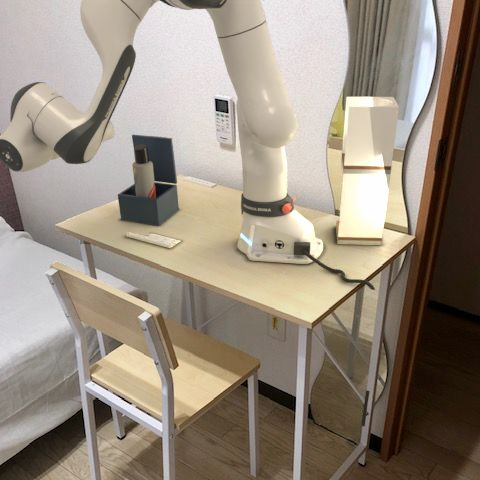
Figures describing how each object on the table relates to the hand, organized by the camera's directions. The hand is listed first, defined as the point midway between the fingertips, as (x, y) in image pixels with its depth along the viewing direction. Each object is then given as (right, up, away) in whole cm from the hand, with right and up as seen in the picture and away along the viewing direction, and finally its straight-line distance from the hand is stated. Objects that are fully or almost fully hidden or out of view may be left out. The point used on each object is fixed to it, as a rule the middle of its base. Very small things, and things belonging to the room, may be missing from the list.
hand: (90, 120), depth 141 cm
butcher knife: (+13, -26, +18) cm, 34 cm away
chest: (+10, -17, +32) cm, 37 cm away
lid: (+11, -2, +28) cm, 30 cm away
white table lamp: (+68, -26, +17) cm, 75 cm away
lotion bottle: (+9, -17, +31) cm, 36 cm away
